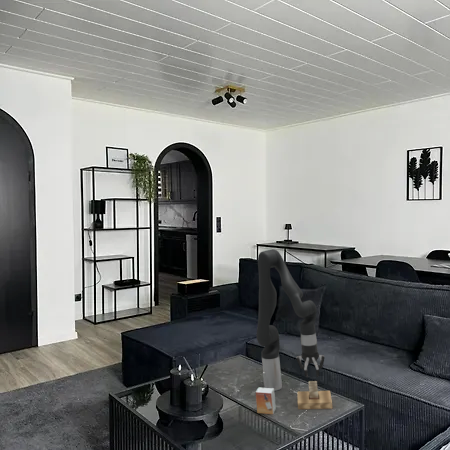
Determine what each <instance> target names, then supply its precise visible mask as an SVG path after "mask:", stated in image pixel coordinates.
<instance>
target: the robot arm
mask: <svg viewBox="0 0 450 450" xmlns="http://www.w3.org/2000/svg"><path fill="white" fill-rule="evenodd" d="M257 266H258V267H257V269H258V288H259V289H258V319H257V327H256V340H257V343H258V344H259V345H260V346H261V347H263V349H262V350H261V353H260V354H261V361H262V362H261V363H262V379H263V388H274V392H277V391H279V390H281V389H282V388H283V382H282V373H281V372H282V371H281V363H280V355H279V353H280V350H281V349H280V348H281V345H280V334H279V331H278V328H277V327H276V326H274V325H272V324H270V323H271V319H272V316H273V314H274V313H275V309H276V307H277V298H278V297H277V290H276V288H275V286H274V283H273V282H272V279H271V268H274V269H275V270H276V271H277V272H278V273H279V277H280V281H281V287H282V289H283V291H284V293H285V294H286V295H287V297H288V299H289V300H290V303H291V305H292V308H293V310H294V313H295V314H296V315H297V316H298V317H299V318H301V319H303V320H301V322H299V328H300V329H299V331H300V345H301V355H296V361H297V364H298V366H299V368H300V370H304V376H305V377H306V378H309V376H308V365H309V364H314V366H315V374H316V378H319V376H320V369H323V367H324V362H325V355H324V354H319V352H318V351H319V349H318V340H317V334H316V325H315V324H316V318H317V312H318V311H317V306H316V304H315V302H314V301H313V300H310V299H309V300H305V301H302V297H304V293H303V290H302V289H301V288H300V287H299V285H298V284H297V282H296V281H295V280H294V277H292V274H291V273H290V271H289V269H288V266H287V264H286V262H285V261H284V258H283V257H282V255H281V254H280V252H279V251H278V250H277V249H275V248H274V249H267V250H263V251H260V253H258V256H257ZM318 359H320V362H319V364H318V361H317V360H318ZM302 361H304V365H303V364H302Z"/></svg>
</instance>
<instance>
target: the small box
mask: <svg viewBox="0 0 450 450" xmlns="http://www.w3.org/2000/svg"><path fill="white" fill-rule="evenodd" d="M275 396H276V395H275V391H274V388H264V387H259V386H258V388H257V389H256V391H255V401H256V402H255V403H256V412H257V414H266V415H274V414H275V411H276V409H277V408H276V407H277V406H276V397H275Z"/></svg>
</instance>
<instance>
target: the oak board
mask: <svg viewBox="0 0 450 450" xmlns="http://www.w3.org/2000/svg"><path fill="white" fill-rule="evenodd" d="M331 395H332V394H331V390H318V398H319V399H310V393H309V390H307V391H306V390H305V391H297V409H298V410H321V409H322V410H325V409H326V410H328V409H329V410H330V409H331V410H332V409H333V401H332V396H331Z"/></svg>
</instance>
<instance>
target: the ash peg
mask: <svg viewBox="0 0 450 450" xmlns="http://www.w3.org/2000/svg"><path fill="white" fill-rule="evenodd" d="M308 391H309V393H310V399H319V398H318V391H319V389H318V381H316V380H314V381H313V380H311V381H308Z"/></svg>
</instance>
